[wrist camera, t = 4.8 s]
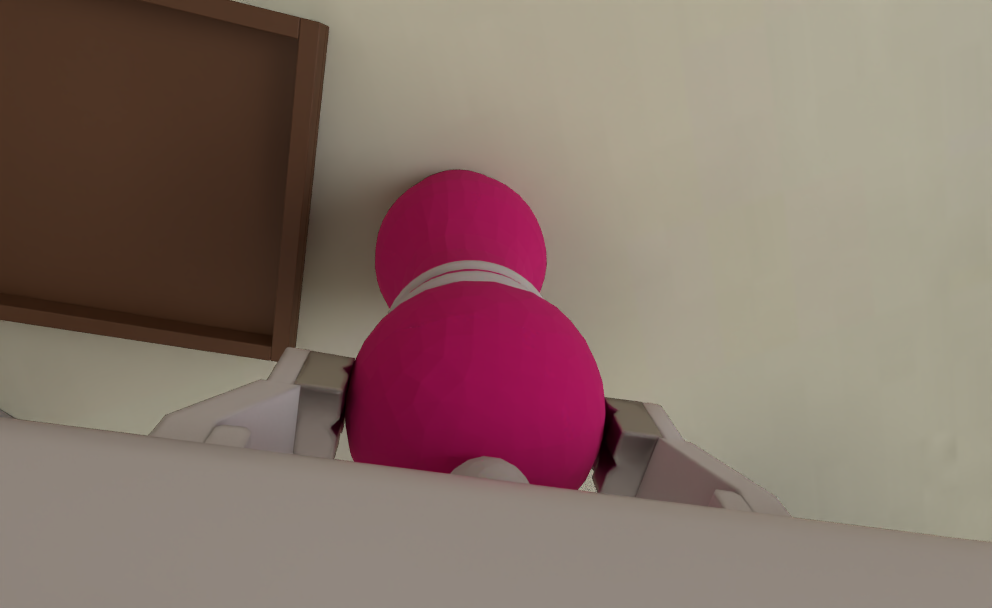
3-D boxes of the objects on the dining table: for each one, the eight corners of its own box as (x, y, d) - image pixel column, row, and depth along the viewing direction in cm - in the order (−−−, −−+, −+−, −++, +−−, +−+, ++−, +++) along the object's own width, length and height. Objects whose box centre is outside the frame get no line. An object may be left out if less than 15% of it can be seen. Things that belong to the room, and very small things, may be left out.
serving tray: (329, 26, 24) (320, 22, 22) (295, 347, 29) (286, 363, 28) (-85, -77, 21) (-130, -90, 20) (-37, 295, 27) (-69, 309, 25)
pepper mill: (376, 288, 28) (254, 680, 10) (395, 145, 26) (276, 316, 7) (513, 309, 30) (632, 697, 11) (544, 174, 27) (766, 385, 8)
